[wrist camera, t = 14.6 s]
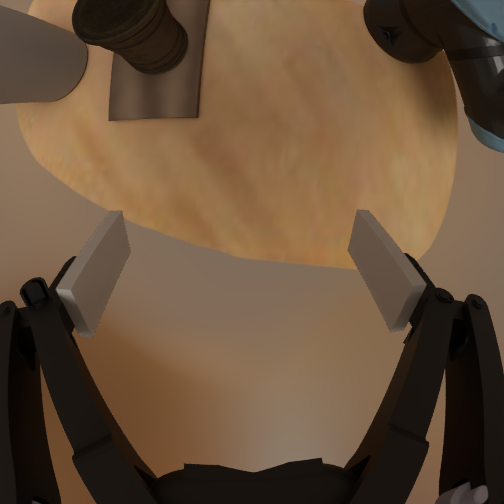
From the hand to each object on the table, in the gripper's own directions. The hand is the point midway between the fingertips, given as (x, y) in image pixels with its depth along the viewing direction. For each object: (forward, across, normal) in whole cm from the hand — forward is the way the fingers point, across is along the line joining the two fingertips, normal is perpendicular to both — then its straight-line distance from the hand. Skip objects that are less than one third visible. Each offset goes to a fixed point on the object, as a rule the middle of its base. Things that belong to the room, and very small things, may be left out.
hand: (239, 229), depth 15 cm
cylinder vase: (+31, -30, +15) cm, 45 cm away
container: (+28, -11, +14) cm, 33 cm away
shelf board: (+31, -12, +14) cm, 36 cm away
